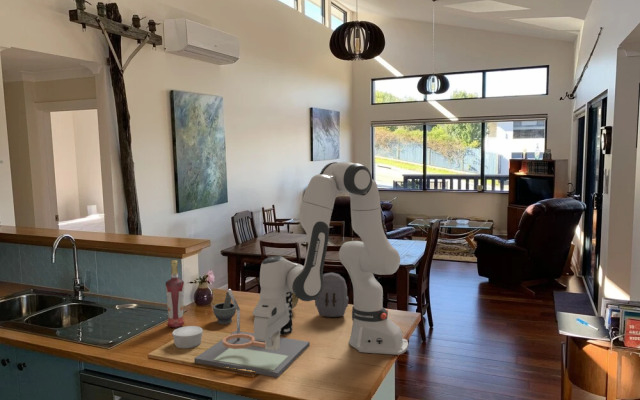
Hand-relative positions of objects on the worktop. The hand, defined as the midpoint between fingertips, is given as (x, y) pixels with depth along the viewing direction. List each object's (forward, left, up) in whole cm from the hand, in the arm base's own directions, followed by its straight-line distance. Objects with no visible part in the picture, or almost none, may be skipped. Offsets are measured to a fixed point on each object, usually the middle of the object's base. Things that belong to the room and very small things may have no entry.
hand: (272, 344), depth 164 cm
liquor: (+55, -20, -8) cm, 59 cm away
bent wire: (+21, -10, -7) cm, 24 cm away
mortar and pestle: (+39, -33, -8) cm, 52 cm away
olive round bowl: (+22, -53, -8) cm, 58 cm away
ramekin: (+39, -6, -8) cm, 40 cm away
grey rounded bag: (-2, -55, -8) cm, 56 cm away
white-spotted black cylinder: (+11, -31, -8) cm, 34 cm away
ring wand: (+8, 0, -1) cm, 8 cm away
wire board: (+11, -7, -8) cm, 15 cm away
